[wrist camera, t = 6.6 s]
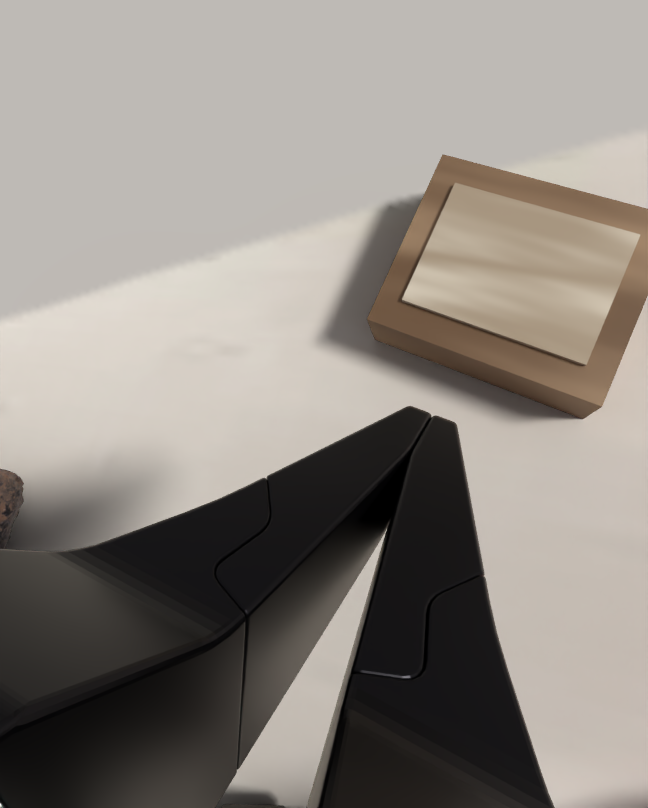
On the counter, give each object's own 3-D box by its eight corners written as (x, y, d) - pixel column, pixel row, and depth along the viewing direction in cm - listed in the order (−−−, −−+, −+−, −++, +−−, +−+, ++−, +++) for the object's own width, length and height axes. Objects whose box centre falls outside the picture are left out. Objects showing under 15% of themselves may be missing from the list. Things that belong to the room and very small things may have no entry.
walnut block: (603, 405, 18) (682, 214, 19) (366, 317, 21) (442, 151, 21) (580, 420, 21) (648, 255, 22) (376, 342, 24) (442, 196, 24)
